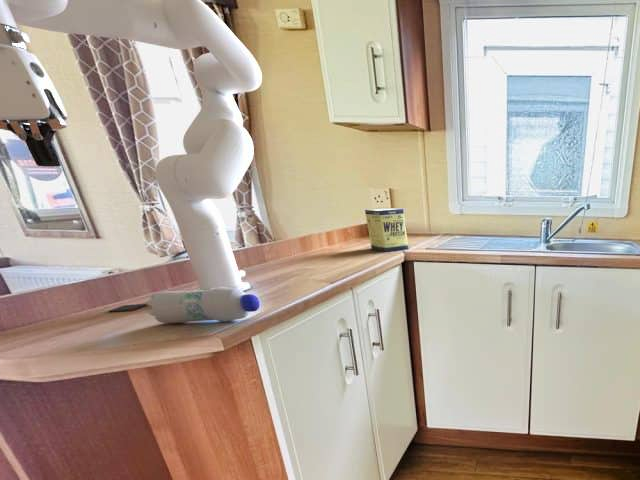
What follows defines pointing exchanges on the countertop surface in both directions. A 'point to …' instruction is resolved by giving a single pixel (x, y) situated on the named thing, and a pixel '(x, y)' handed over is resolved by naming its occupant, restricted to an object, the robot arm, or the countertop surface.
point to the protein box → (387, 229)
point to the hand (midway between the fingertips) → (49, 165)
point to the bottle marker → (128, 308)
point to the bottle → (202, 305)
